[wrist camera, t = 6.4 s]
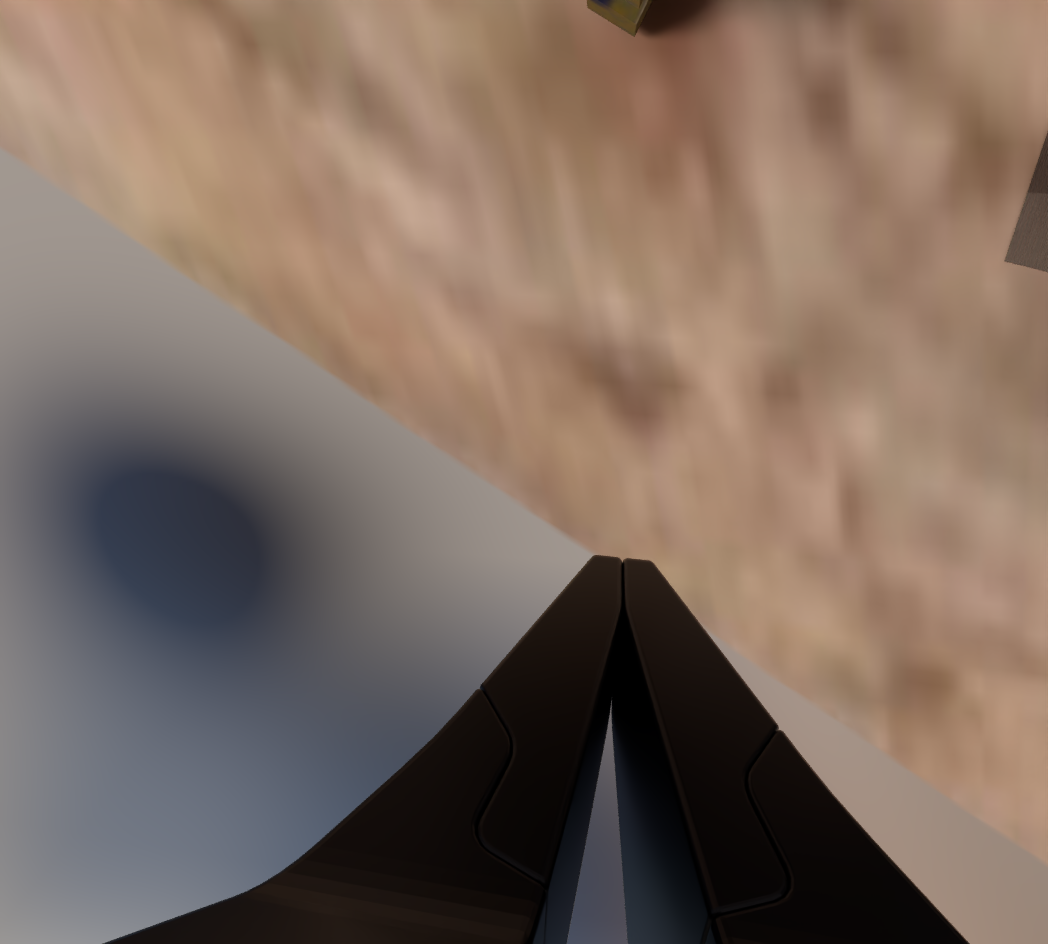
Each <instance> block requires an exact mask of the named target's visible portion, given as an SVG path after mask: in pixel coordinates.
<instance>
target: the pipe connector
mask: <svg viewBox="0 0 1048 944" xmlns="http://www.w3.org/2000/svg"><path fill="white" fill-rule="evenodd" d="M651 2H652V0H587V6H588V8H589V9H590V10H592V11H594V12H595V13H597V14H598V15H600V16H602V17H603V18H605V19H607V20H608V21H610V22H611V23H613V24H615V25H616V26H618V27H619V28H621V29H623V30H624V31H626V32H627V33H629V34H631V35H632V36H634V37H635V35H636V33H637V31H638V29H639V27H640V25H641V22H642V20H643V18H644V16H645V14H646V12H647V10H648V8H649V6H650V4H651Z"/></svg>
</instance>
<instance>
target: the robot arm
mask: <svg viewBox="0 0 1048 944" xmlns="http://www.w3.org/2000/svg"><path fill="white" fill-rule="evenodd" d="M611 700H612V709H611V714H612V733H613V734H612V735H613V749H614V762H615V776H616V790H617V803H618V816H619V831H620V845H621V858H622V871H623V886H624V898H625V912H626V925H627V940H628V944H969V943H968V941H967V940H966V939H965V938H964V937H963V936H962V935H961V934H960V933H959V932H958V931H957V930H956V928H955V927H954V926H953V925H952V924H951V923H950V922H949V921H948V920H947V919H946V918H945V917H944V915H942V914H941V912H940V911H939V910H938V909H937V908H936V907H935V906H934V905H933V904H932V903H931V901H930V900H929V899H928V898H927V897H926V896H925V895H924V894H923V893H922V892H921V891H920V890H919V889H918V887H916V886H915V884H914V883H913V882H912V881H911V880H910V879H909V878H908V877H907V876H906V874H905V873H904V872H903V871H902V870H901V869H900V868H899V867H898V866H897V865H896V864H895V863H894V862H893V860H892V859H891V858H890V857H888V855H887V854H886V853H885V852H884V851H883V850H882V849H881V848H880V846H879V845H878V844H877V843H876V842H875V841H874V840H873V839H872V838H871V837H870V835H869V834H868V833H867V832H866V831H865V830H864V829H863V828H862V826H861V825H860V824H859V823H858V822H857V821H856V820H855V819H854V818H853V816H852V815H851V814H850V813H849V812H848V811H847V810H846V808H845V807H844V806H843V805H842V804H841V803H840V802H839V801H838V799H837V798H836V797H835V796H834V795H833V794H832V792H831V791H830V790H829V789H828V788H827V786H826V785H825V784H824V783H823V781H822V780H821V779H820V778H819V776H818V775H817V774H816V773H815V772H814V771H813V769H812V768H811V767H810V765H809V764H808V763H807V762H806V760H805V759H804V758H803V757H802V755H801V754H800V753H799V752H798V750H797V749H796V748H795V746H794V745H793V744H792V742H791V741H790V740H789V739H788V737H787V736H786V735H785V733H784V732H783V731H781V730H778V729H779V727H778V725H777V723H776V722H775V721H774V719H773V718H772V717H771V715H770V714H769V713H768V712H767V710H766V709H765V708H764V706H763V705H762V704H761V702H760V701H759V700H758V699H757V697H756V696H755V695H754V693H753V692H752V691H751V689H750V688H749V687H748V686H747V684H746V683H745V682H744V680H743V679H742V678H741V676H740V675H739V674H738V673H737V671H736V670H735V669H734V667H733V666H732V665H731V663H730V662H729V661H728V660H727V658H726V657H725V656H724V654H723V653H722V652H721V650H720V649H719V648H718V646H717V645H716V644H715V643H714V641H713V640H712V639H711V637H710V636H709V635H708V633H707V632H706V631H705V629H704V628H703V627H702V626H701V624H700V623H699V622H698V620H697V619H696V618H695V616H694V615H693V614H692V613H691V611H690V610H689V609H688V607H687V606H686V605H685V603H684V602H683V601H682V599H681V598H680V597H679V596H678V594H677V593H676V592H675V590H674V589H673V588H672V586H671V585H670V584H669V583H668V581H667V580H666V579H665V577H664V576H663V575H662V573H661V572H660V571H659V570H658V568H657V567H656V566H655V564H654V563H653V562H651V561H649V560H640V559H630V558H626V559H624V560H623V562H622V561H621V559H620V558H618V557H611V556H601V555H594V556H593V557H592V558H591V559H590V560H589V561H588V562H587V563H586V564H585V566H584V567H583V568H582V569H581V570H580V571H579V572H578V574H577V575H576V576H575V577H574V578H573V579H572V580H571V582H570V583H569V584H568V585H567V586H566V587H565V589H564V590H563V591H562V592H561V593H560V594H559V596H558V597H557V598H556V599H555V600H554V601H553V602H552V604H551V605H550V606H549V607H548V608H547V609H546V611H545V612H544V613H543V614H542V615H541V616H540V617H539V619H538V620H537V621H536V622H535V623H534V624H533V625H532V627H531V628H530V629H529V630H528V632H527V633H526V634H525V635H524V636H523V637H522V638H521V639H520V640H519V642H518V643H517V644H516V645H515V647H513V649H512V650H511V651H510V652H509V653H508V654H507V655H506V657H505V658H504V659H503V660H502V661H501V662H500V664H499V665H498V666H497V667H496V668H495V669H494V670H493V672H492V673H491V674H490V675H489V676H488V678H487V679H486V680H485V681H484V682H483V683H482V684H481V686H480V689H477V690H476V691H475V692H474V693H473V695H472V696H471V697H470V698H469V699H468V700H467V701H466V702H465V704H464V705H463V706H462V707H461V708H460V709H459V710H458V712H457V713H456V714H455V715H454V716H453V717H452V718H451V719H450V720H449V721H448V722H447V723H446V725H444V727H443V728H442V729H441V730H440V731H439V732H438V733H437V734H436V735H435V736H434V737H433V738H432V739H431V740H430V741H429V742H428V743H427V744H426V745H425V746H424V747H423V748H422V749H420V750H419V751H418V752H417V753H416V754H415V755H414V756H413V757H412V758H411V759H410V760H409V761H408V762H407V763H406V764H405V765H403V766H402V767H401V768H400V769H399V770H398V771H397V772H396V773H395V774H393V775H392V776H391V777H390V778H389V779H388V780H387V781H386V782H385V783H383V784H382V785H381V786H380V787H379V788H378V789H377V790H376V791H375V792H373V793H372V794H371V795H370V796H369V797H368V798H367V799H366V800H364V801H363V802H362V803H361V804H360V805H359V806H358V807H357V808H355V809H354V810H353V811H352V812H351V813H350V814H349V815H348V816H347V817H345V818H344V819H343V820H342V821H341V822H340V823H339V824H338V825H336V826H335V827H334V828H333V829H332V830H331V831H330V832H329V833H327V834H326V835H325V836H324V837H323V838H322V839H321V840H320V841H319V842H317V843H316V844H315V845H314V846H313V847H312V848H311V849H309V850H308V851H307V852H306V853H305V854H303V855H302V856H301V857H300V858H299V859H297V860H296V861H295V862H293V863H292V864H291V865H289V866H288V867H286V868H285V869H284V870H282V871H281V872H279V873H278V874H276V875H275V876H273V877H271V878H270V879H268V880H267V881H265V882H263V883H262V884H260V885H258V886H256V887H254V888H252V889H250V890H248V891H246V892H244V893H241V894H239V895H236V896H234V897H231V898H228V899H225V900H223V901H220V902H217V903H214V904H211V905H209V906H206V907H203V908H200V909H197V910H195V911H192V912H189V913H186V914H184V915H181V916H178V917H175V918H172V919H170V920H167V921H164V922H161V923H159V924H156V925H153V926H150V927H148V928H145V929H142V930H139V931H136V932H134V933H131V934H128V935H125V936H123V937H120V938H117V939H114V940H111V941H109V942H106V943H103V944H567V939H568V934H569V929H570V924H571V918H572V913H573V908H574V902H575V897H576V892H577V887H578V881H579V876H580V871H581V866H582V860H583V855H584V850H585V845H586V839H587V834H588V828H589V823H590V818H591V813H592V808H593V802H594V797H595V792H596V787H597V781H598V776H599V771H600V765H601V760H602V755H603V750H604V744H605V739H606V734H607V728H608V722H609V715H610V708H611Z"/></svg>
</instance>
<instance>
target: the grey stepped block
mask: <svg viewBox="0 0 1048 944" xmlns="http://www.w3.org/2000/svg"><path fill="white" fill-rule="evenodd" d="M1005 262H1009V263H1013V264H1017V265H1021V266H1026V267H1030V268H1034V269H1038V270H1042V271H1046V272H1048V133H1047V136H1046V139H1045V142H1044V145H1043V148H1042V151H1041V154H1040V157H1039V160H1038V163H1037V166H1036V169H1035V172H1034V175H1033V178H1032V181H1031V184H1030V187H1029V190H1028V193H1027V196H1026V199H1025V202H1024V205H1023V208H1022V211H1021V214H1020V217H1019V220H1018V223H1017V226H1016V229H1015V232H1014V235H1013V238H1012V241H1011V244H1010V247H1009V250H1008V253H1007V256H1006V259H1005Z"/></svg>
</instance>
